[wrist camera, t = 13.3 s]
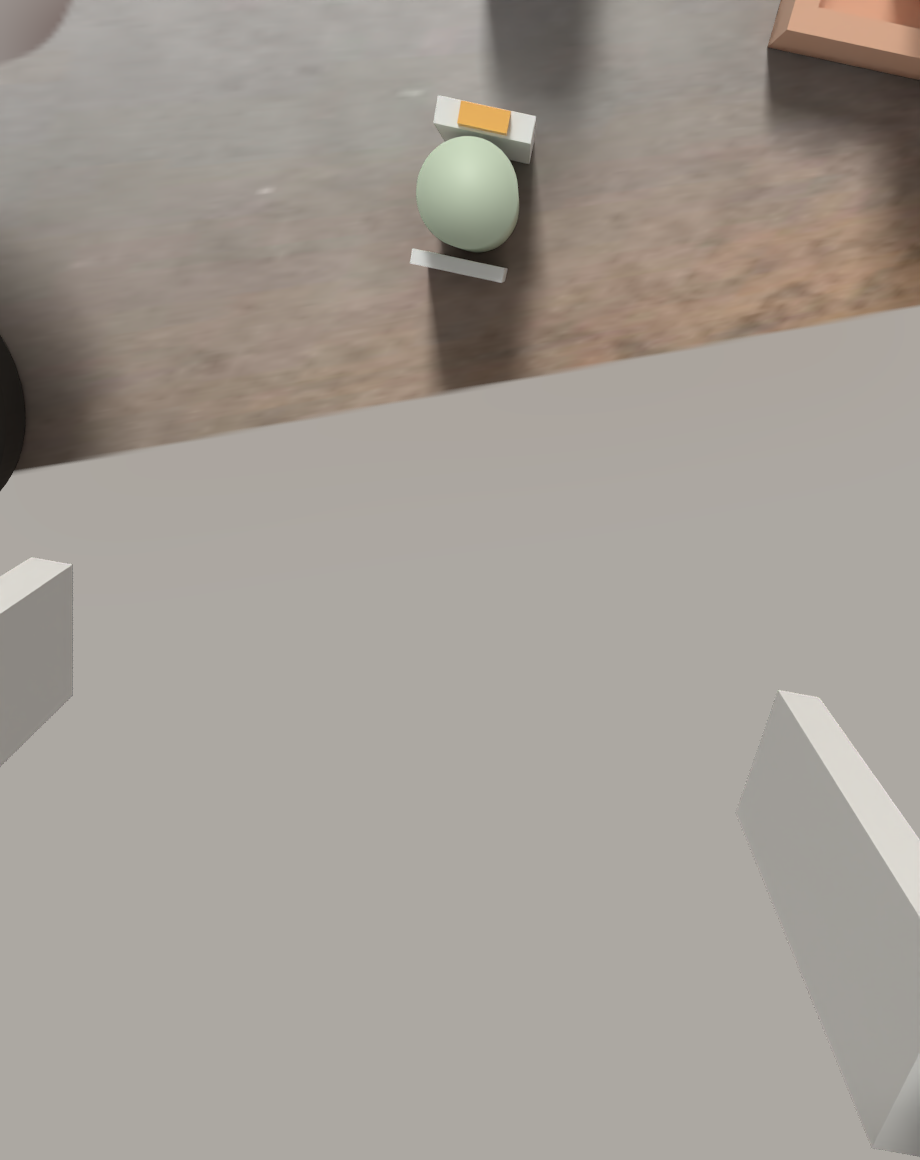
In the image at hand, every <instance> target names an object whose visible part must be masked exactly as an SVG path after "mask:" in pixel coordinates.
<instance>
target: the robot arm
mask: <svg viewBox="0 0 920 1160" xmlns="http://www.w3.org/2000/svg"><path fill="white" fill-rule="evenodd" d="M24 431H25V408H24V399H23V393H22V388H21V384H20V380H19V376H18V373H17V370H16V367H15V365H14V362H13V359H12V357H11V355H10V353H9V351H8V348H7V346H6V345H5V343H4V341H3V339H2V337H1V336H0V491H1V489H2V488H3V487H4V486H5V484H6V483H7V481H8V480H9V478H10V477H11V475H12V473H13V471H14V469H15V467H16V464H17V462H18V459H19V456H20V453H21V449H22V445H23V439H24ZM72 695H73V565H72V564H68V563H62V562H57V561H51V560H46V559H40V558H34V557H30V558H29V559H27V560H26V561H24V562H22V563H21V564H19V565H17V566H16V567H14V568H12V569H11V570H9V571H8V572H6V573H4V574H3V575H1V576H0V766H1V765H2V764H3V763H4V762H5V761H6V760H7V759H8V758H9V757H10V756H11V755H12V754H13V753H14V752H15V751H17V749H19V748H20V747H21V746H22V745H23V744H24V743H25V742H26V741H27V740H28V739H29V738H30V737H31V736H32V735H33V734H34V733H35V732H36V731H37V730H38V729H39V728H40V727H41V726H42V725H43V724H44V723H45V722H46V721H47V720H48V719H49V718H50V717H51V716H52V715H53V714H54V713H55V712H56V711H57V710H58V709H59V708H60V707H61V706H62V705H63V704H64V703H65V702H66V701H68V699H70V697H72ZM736 815H737V818H738V821H739V823H740V825H741V828H742V830H743V833H744V835H745V838H746V840H747V842H748V845H749V847H750V850H751V853H752V855H753V857H754V860H755V862H756V865H757V867H758V870H759V872H760V874H761V877H762V880H763V882H764V885H765V887H766V889H767V892H768V894H769V897H770V899H771V902H772V904H773V907H774V909H775V911H776V914H777V916H778V919H779V921H780V924H781V926H782V929H783V931H784V934H785V936H786V939H787V941H788V944H789V946H790V949H791V951H792V953H793V956H794V958H795V961H796V963H797V966H798V968H799V971H800V973H801V975H802V978H803V981H804V983H805V985H806V988H807V990H808V993H809V995H810V998H811V1000H812V1003H813V1005H814V1008H815V1010H816V1013H817V1015H818V1017H819V1020H820V1022H821V1025H822V1027H823V1030H824V1032H825V1035H826V1037H827V1040H828V1042H829V1044H830V1047H831V1049H832V1052H833V1054H834V1057H835V1059H836V1062H837V1064H838V1067H839V1069H840V1072H841V1074H842V1077H843V1079H844V1081H845V1084H846V1086H847V1089H848V1091H849V1094H850V1096H851V1099H852V1101H853V1104H854V1106H855V1109H856V1111H857V1114H858V1116H859V1118H860V1121H861V1123H862V1126H863V1128H864V1131H865V1133H866V1136H867V1138H868V1141H869V1143H870V1145H871V1148H873V1149H879V1150H885V1151H891V1152H896V1153H902V1154H908V1155H913V1156H919V1157H920V839H919V838H918V837H917V835H916V834H915V832H914V831H913V829H912V828H911V827H910V825H909V824H908V823H907V821H906V820H905V818H904V817H903V816H902V814H901V813H900V811H899V810H898V808H897V807H896V805H895V804H894V803H893V801H892V800H891V798H890V797H889V796H888V794H887V793H886V791H885V790H884V788H883V787H882V786H881V784H880V783H879V781H878V780H877V779H876V777H875V776H874V774H873V773H872V772H871V770H870V769H869V767H868V766H867V765H866V763H865V762H864V760H863V759H862V757H861V756H860V755H859V753H858V752H857V750H856V749H855V747H854V746H853V745H852V743H851V742H850V740H849V739H848V738H847V736H846V735H845V733H844V732H843V731H842V729H841V728H840V726H839V725H838V724H837V722H836V721H835V719H834V718H833V716H832V715H831V714H830V712H829V711H828V709H827V708H826V707H825V705H824V704H823V702H822V701H821V699H820V698H819V697H815V696H809V695H803V694H797V693H792V692H787V691H781V690H778V691H777V694H776V698H775V700H774V703H773V706H772V709H771V712H770V715H769V717H768V720H767V723H766V726H765V729H764V732H763V735H762V738H761V741H760V744H759V746H758V749H757V752H756V755H755V758H754V761H753V764H752V767H751V770H750V773H749V775H748V778H747V781H746V784H745V787H744V790H743V793H742V796H741V798H740V801H739V804H738V807H737V810H736Z"/></svg>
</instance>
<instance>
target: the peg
mask: <svg viewBox="0 0 920 1160" xmlns="http://www.w3.org/2000/svg"><path fill="white" fill-rule="evenodd" d="M416 199H417V205H418V209H419V212H420V215H421V218H422V219H423V221H424V223H425V225H426V226H427V228H428V229H429V230H430V231H431V232H432V233H433V235H435V236H436V237H437V238H438V239H440V240H441V241H443V242H444V243H447V244H449V245H451V246H454V247H457V248H460V249H463V250H466V251H470V252H487V251H490V250H493V249H495V248H497V247H499V246H500V245H502V244H503V243H504V242H505V241H506V240H507V239H508V238H509V237H510V235H511V234H512V232H513V230H514V229H515V226H516V224H517V221H518V216H519V195H518V183H517V178H516V174H515V171H514V168H513V166H512V164H511V162H510V161H509V159H508V158H507V156H506V155H505V154H504V153H503V151H502V150H501V149H499V148H498V147H497V146H496V145H494V144H493V143H491V142H490V141H487V140H485V139H483V138H479V137H474V136H461V137H456V138H453V139H450V140H448V141H446V142H444V143H442V144H441V145H439V146H438V147H437V148H435V149H434V150H433V151H432V152H431V154H430V155H429V156H428V157H427V159H426V160H425V162H424V164H423V166H422V168H421V170H420V173H419V176H418V180H417V187H416Z"/></svg>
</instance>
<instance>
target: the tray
mask: <svg viewBox="0 0 920 1160" xmlns="http://www.w3.org/2000/svg"><path fill="white" fill-rule="evenodd" d="M768 48H773V49H778V50H782V51H787V52H791V53H796V54H801V55H805V56H810V57H815V58H819V59H824V60H829V61H833V62H838V63H842V64H847V65H852V66H856V67H861V68H866V69H870V70H875V71H879V72H884V73H889V74H893V75H898V76H903V77H907V78H912V79H916V80H920V0H781V2H780V5H779V9H778V12H777V16H776V19H775V23H774V26H773V30H772V33H771V37H770V40H769V44H768Z"/></svg>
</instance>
